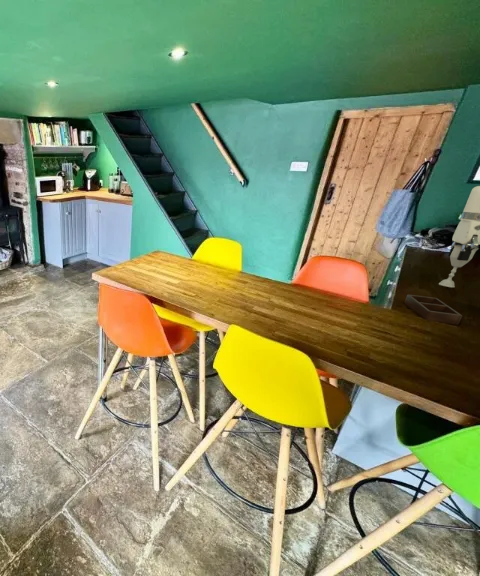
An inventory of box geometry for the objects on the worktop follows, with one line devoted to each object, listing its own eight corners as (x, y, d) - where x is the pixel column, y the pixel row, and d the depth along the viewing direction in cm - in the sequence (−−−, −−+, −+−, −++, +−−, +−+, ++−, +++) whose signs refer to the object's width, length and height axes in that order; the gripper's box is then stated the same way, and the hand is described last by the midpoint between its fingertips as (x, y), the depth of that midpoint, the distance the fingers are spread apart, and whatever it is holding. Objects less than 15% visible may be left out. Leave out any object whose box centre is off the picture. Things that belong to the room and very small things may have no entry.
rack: (432, 308, 137) (436, 297, 135) (457, 327, 121) (462, 315, 119) (403, 304, 141) (407, 294, 139) (423, 322, 125) (428, 311, 123)
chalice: (459, 286, 136) (480, 247, 129) (457, 289, 132) (478, 249, 125) (436, 281, 141) (455, 243, 135) (433, 283, 138) (452, 245, 131)
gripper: (502, 219, 117) (482, 264, 124) (474, 214, 132) (457, 254, 138) (475, 219, 120) (457, 262, 127) (450, 214, 135) (435, 253, 141)
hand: (457, 257), depth 132 cm, fingers closed on chalice, 6 cm apart
